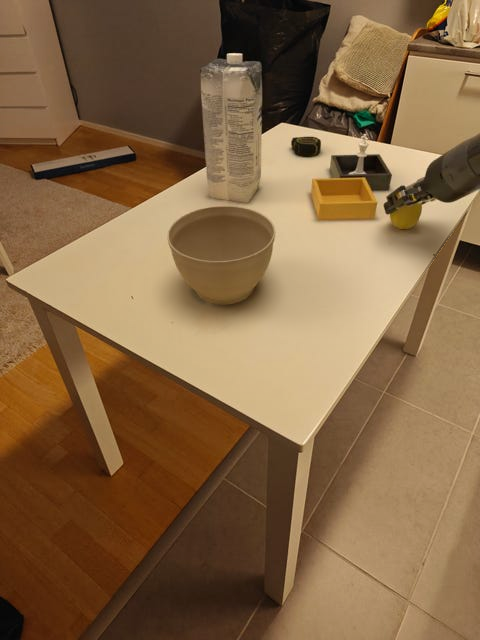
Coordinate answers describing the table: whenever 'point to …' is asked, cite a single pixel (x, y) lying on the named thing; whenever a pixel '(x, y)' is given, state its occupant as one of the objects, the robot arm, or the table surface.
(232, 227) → the planter bowl
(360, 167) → the chess piece
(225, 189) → the juice carton
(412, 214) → the lemon
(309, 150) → the tape measure
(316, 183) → the yellow bin
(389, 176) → the dark bin
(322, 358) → the table surface
